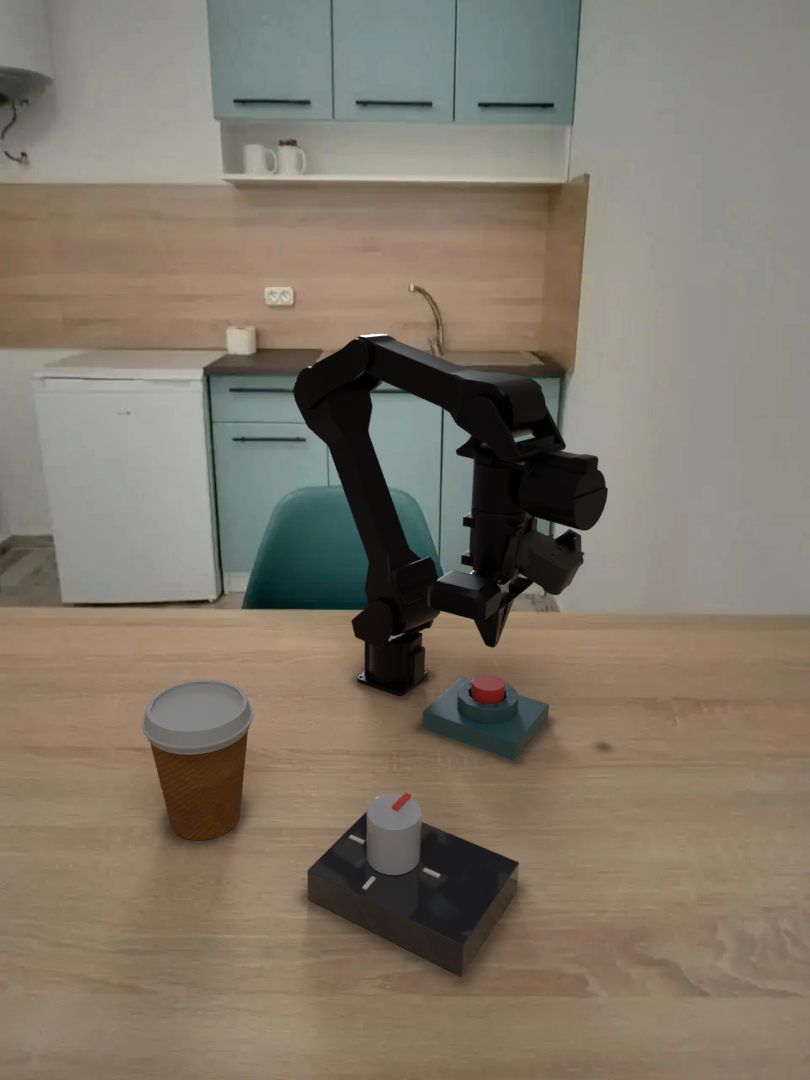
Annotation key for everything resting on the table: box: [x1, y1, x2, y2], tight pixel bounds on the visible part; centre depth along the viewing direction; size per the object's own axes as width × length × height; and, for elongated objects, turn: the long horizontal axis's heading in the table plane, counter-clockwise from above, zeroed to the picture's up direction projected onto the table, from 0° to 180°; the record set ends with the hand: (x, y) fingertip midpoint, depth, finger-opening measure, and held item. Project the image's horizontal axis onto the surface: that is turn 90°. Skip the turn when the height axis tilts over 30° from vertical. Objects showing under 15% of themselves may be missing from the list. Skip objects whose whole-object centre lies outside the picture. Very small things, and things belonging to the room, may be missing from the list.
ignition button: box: [471, 673, 506, 704], centre depth 90 cm, size 4×4×2 cm
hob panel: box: [306, 810, 520, 977], centre depth 67 cm, size 14×10×3 cm
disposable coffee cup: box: [141, 678, 254, 841], centre depth 74 cm, size 10×10×12 cm
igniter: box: [422, 676, 550, 762], centre depth 91 cm, size 11×9×4 cm
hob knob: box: [366, 791, 423, 875], centre depth 67 cm, size 4×4×5 cm
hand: (491, 645), depth 88 cm, fingers closed
